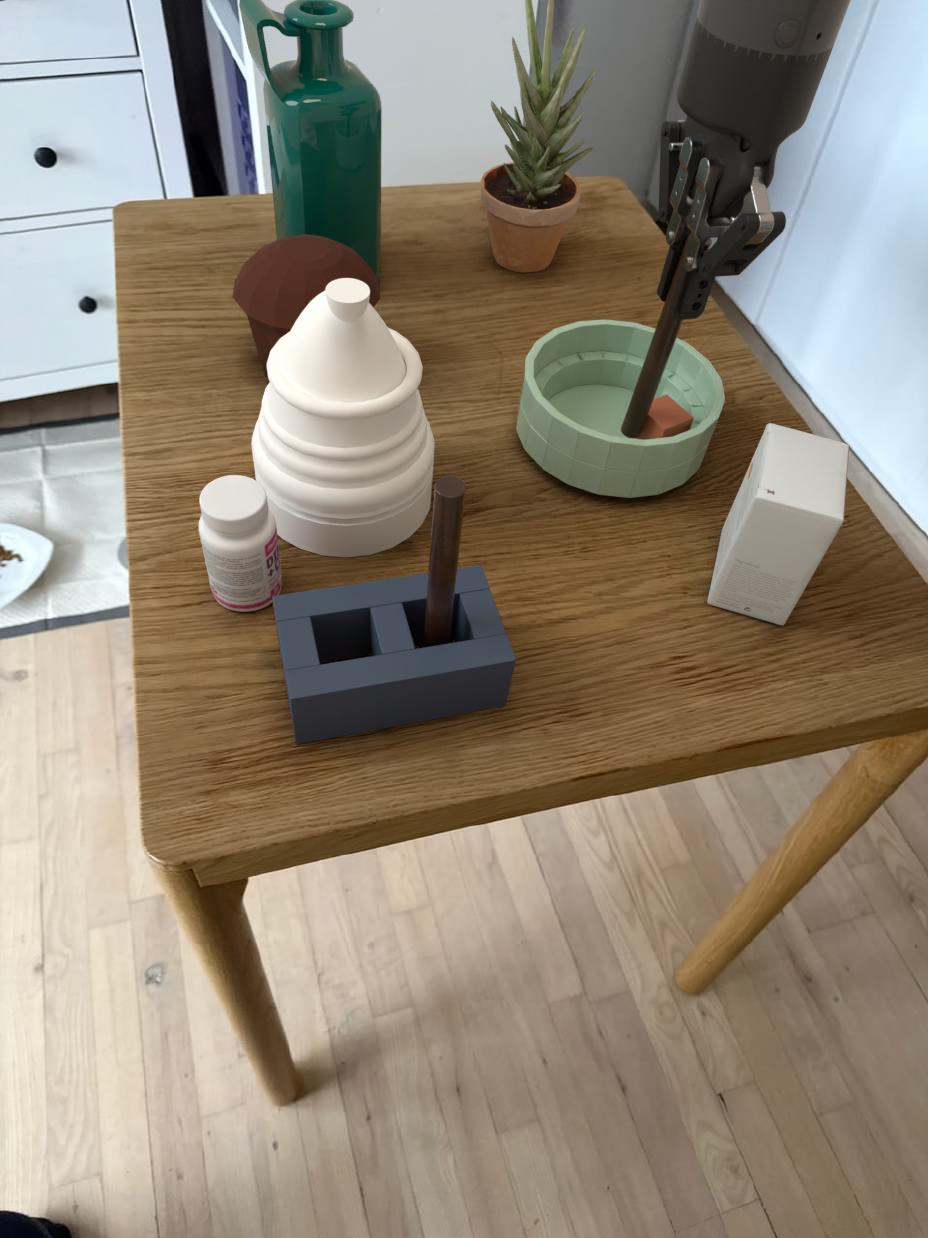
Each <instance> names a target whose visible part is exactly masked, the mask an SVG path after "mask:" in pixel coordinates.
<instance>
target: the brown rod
mask: <svg viewBox="0 0 928 1238" xmlns="http://www.w3.org/2000/svg"><path fill="white" fill-rule="evenodd" d="M691 234H692V233H690V234H689V235H688V237H687V240H686V243H685V246H684V249H683V252H682V255H681V257H680V260H679V263H678V266H677V269H676V272H675V275H674V278H673V280H672V283H671V286H670V289H669V292H668V295H667V298H666V300H665V302H663V306H662V309H661V312H660V315H659V318H658V321H657V324H656V326H655V332H654V335H653V338H652V341H651V343H650V346H649V349H648V352H647V355H646V358H645V361H644V363H643V366H642V369H641V372H640V375H639V378H638V381H637V384H636V386H635V389H634V392H633V395H632V398H631V401H630V404H629V406H628V409H627V412H626V415H625V418H624V421H623V424H622V427H621V432H622V434H623V435H625V436H626V437H629V438H637V437H639V436H640V434H641V432H642V429H643V426H644V424H645V421H646V418H647V416H648V413H649V410H650V408H651V405H652V402H653V400H654V397H655V394H656V391H657V389H658V386H659V383H660V381H661V378H662V375H663V373H664V370H665V367H666V365H667V362H668V359H669V357H670V354H671V351H672V349H673V346H674V343H675V341H676V338H678V335H679V332H680V330H681V327H682V324H683V322H684V320H675V319H674V318H673V317H672V316H671V314H670V313H669V307H670V304H671V301H672V297H673V294H674V291H675V287H676V284H677V281H678V278H679V274H680V271H681V268H682V265H684V260H685V255H686V252H687V248H688V245H689V241H690V237H691ZM712 245H713V241H712V238H710V239H708V240H707V242H706V244H705V248H704V250H709V249H710V248H711V247H712Z"/></svg>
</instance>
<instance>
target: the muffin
mask: <svg viewBox="0 0 928 1238" xmlns="http://www.w3.org/2000/svg"><path fill="white" fill-rule="evenodd" d="M340 278H353V279H357V280H360V281H362V282H364V283H366V284H367V285H368V287H369V289H370V298H369V303H370V304H371V305H372V307H373V308H375V306H376V305H377V304H378V303H379V301H380V300H381V285H380V283H381V282H380V280H379V279H377V278H376V276H375V274H374V272H373V270H372V268H371V267H370V266H369V265H368V264H367V263H366V262H365V261H364V260H363V259H362V258H361V257H360V256H359V255H358V254H357V253H356V252H355V251H354V250H353V249H352V248H350V247H348V246H346V245H344V244H341V243H339V242H336V241H334V240H331V239H329V238H326V237H323V236H315V235H307V234H305V235H295V236H288V237H286V238H283V239H280V240H277V239H276V240H275V241H272V242H269V243H267V244H265V245H263V246H262V247H260V248H259V249H257V251H256V252H255V253H253V254H252V255H251V256H250V257H249V258H248V259H247V260H246V261H245V263H243V264H242V266H241V268H240V269H239V271H238V274H237V276H236V278H234V284H233V291H232V293H233V294H232V299H233V300H234V301H235V302H236V303H237V305H238V306H239V307H240V309H241V310H242V311H243V312H244V314H245V316H246V318H247V320H248V323H249V327H250V330H251V334H252V338H253V342H254V345H255V349H256V352H257V356H258V358H259V360H260V364H261V367H262V372H263V374H264V376H266V377H268V372H267V361H268V358H269V354H270V351H271V350H272V348H273V347H274V346H275V344H276V343H277V342H278V341H279V339H280V338H281V337H283V336H284V335H286V334H287V333H288V332H290V331H291V329H292V327H293V325H294V324H295V322H296V320H297V319H298V317H299V316H300V314H301V313H302V311H303V310H304V309H305V308H306V306H307V305H308V304H309V303H310V301H311V300H313V299H314V298H315V297H316V296H317V295H319V294H320V293H322V292H323V291H325V288H326V286H327V284H329V283H330V282H331V281H333V280H336V279H340Z"/></svg>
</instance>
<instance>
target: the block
mask: <svg viewBox="0 0 928 1238" xmlns="http://www.w3.org/2000/svg"><path fill="white" fill-rule="evenodd" d="M693 419H694V417H692V416H691V415H690V414H689V413H688V412H687V411H686V410H684V409H683V408H682V407H681V406H680V405H679V404H677V403H676V402H675V401H674V400H673V399H672V398H671V397H669V396H668V395H664V396H661V397H659V398H656V399H654V400H653V402H652V405H651V408H650V410H649V413H648V416H647V418H646V421H645V424H644V426H643V429H642V432H641V434H640V436H639V437H637V438H634V439H643V440H646V439H655V438H665V437H673V436H676V435H678V434H681V433H683V432H686V431H688V430H689V429H690V426H691V424H692V422H693ZM627 438H629V437H627Z"/></svg>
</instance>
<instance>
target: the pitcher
mask: <svg viewBox="0 0 928 1238" xmlns="http://www.w3.org/2000/svg"><path fill="white" fill-rule="evenodd" d="M238 3H239V4H238V7H239V12H240V17H241V22H242V26H243V31H244V36H245V40H246V44H247V49H248V51H249V55H250V57H251V59H252V61H253V63H254V65H255V66H256V68H257V69H258V71H259V72H260V73H261V76H262V77H263V78H264V81H263V87H262V89H263V101H264V112H265V113H264V114H265V123H266V132H267V133H266V134H267V145H268V157H269V167H270V178H271V190H272V201H273V202H272V203H273V214H274V223H275V234H276V235H275V236H276V241H277V240H280V239H283V238H286V237H288V236H295V235H305V234H307V235H315V236H323V237H326V238H329V239H331V240H334V241H336V242H339V243H341V244H344V245H346V246H348V247H350V248H352V249H353V250H354V251H355V252H356V253H357V254H358V255H359V256H360V257H361V258H362V259H363V260H364V261H365V262H366V263H367V264H368V265H369V266H370V267H371V268H372V270H373V272H374V274H375V276H376V278H377V279H378V280H379V279H380V277H381V273H382V271H381V270H382V269H381V267H382V265H381V263H382V262H381V261H382V256H381V255H382V138H383V137H382V134H383V131H382V128H383V126H382V125H383V124H382V123H383V122H382V121H383V120H382V119H383V117H382V116H383V105H382V99H381V95H380V93H379V91H378V89H377V88H376V86H375V85H374V84H373V83H372V82H371V81H370V79H369V78H368V77H367V76H366V75H365V73H364V72H363V71H362V70H361V69H360V67H358V65H357V64H356V63H354V62H352V61H350V60H348V59H345V55H344V28H345V27H348V26H349V25H350V24H352V22H353V21H354V17H355V13H354V11H353V10H352V9H351V8H350V7H349V6H348V5H347V4H344V3H343V2H340V1H338V0H292V1H291V2H289V3H288V4H286V5H285V6H284V11H283V13H282V12H279V11H275V10H273V9H271V8H270V7H269V6H268V5H266V3H265V2H264V1H263V0H239V2H238ZM266 27H272V28H275V29H276V30H278V31H279V32H280V33H281V34H282V35H283V36H285V37H289V38H291V37H292V38H296V48H297V57H296V59H292V60H286V61H285V60H284V61H282V62H279V63H276V64H275V65H273V66H271V67H270V63H269V59H268V50H267V45H266V41H265V33H264V28H266Z"/></svg>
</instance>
